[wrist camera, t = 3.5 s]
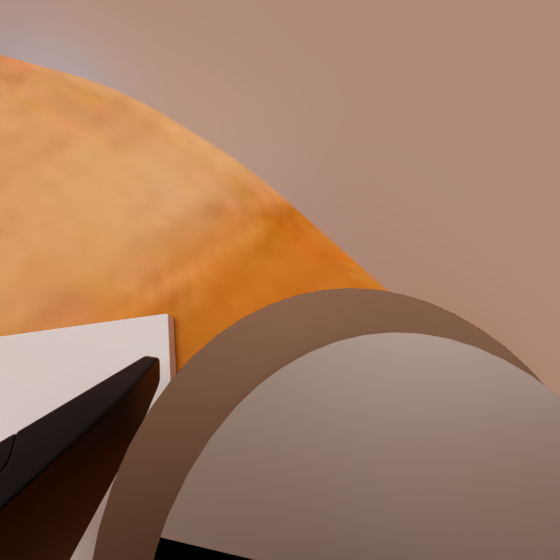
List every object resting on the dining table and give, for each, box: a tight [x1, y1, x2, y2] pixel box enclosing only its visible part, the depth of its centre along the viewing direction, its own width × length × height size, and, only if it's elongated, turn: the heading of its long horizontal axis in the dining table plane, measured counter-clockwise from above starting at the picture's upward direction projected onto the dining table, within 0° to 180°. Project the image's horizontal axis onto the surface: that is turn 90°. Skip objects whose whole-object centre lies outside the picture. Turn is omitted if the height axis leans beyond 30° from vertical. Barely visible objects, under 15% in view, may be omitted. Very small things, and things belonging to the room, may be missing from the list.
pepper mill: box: [92, 288, 560, 560], centre depth 9 cm, size 6×6×14 cm
